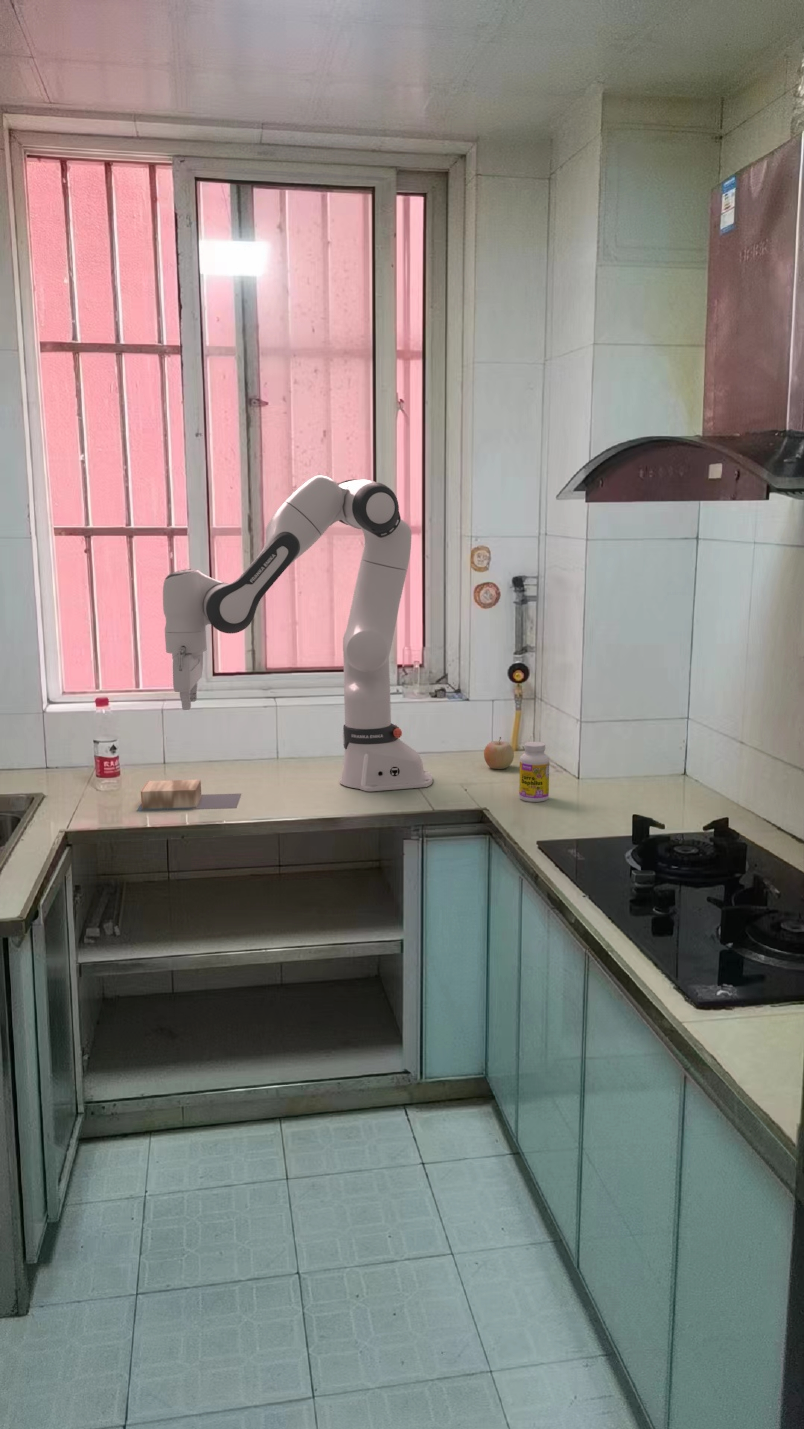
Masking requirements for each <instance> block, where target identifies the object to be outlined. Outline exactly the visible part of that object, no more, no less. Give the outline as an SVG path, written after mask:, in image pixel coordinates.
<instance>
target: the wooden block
mask: <svg viewBox="0 0 804 1429" xmlns="http://www.w3.org/2000/svg"><path fill="white" fill-rule="evenodd" d="M201 795H202V781H201V779H181V780H179V779H176V780H173V779H172V780H147V782H146V783H145V785H144V786H143V788H142V789H141V790H140V800H141V803H142V809H157V808H190V807H197V805H198V803H199V801H200V798H201ZM141 803H140V804H141Z"/></svg>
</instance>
